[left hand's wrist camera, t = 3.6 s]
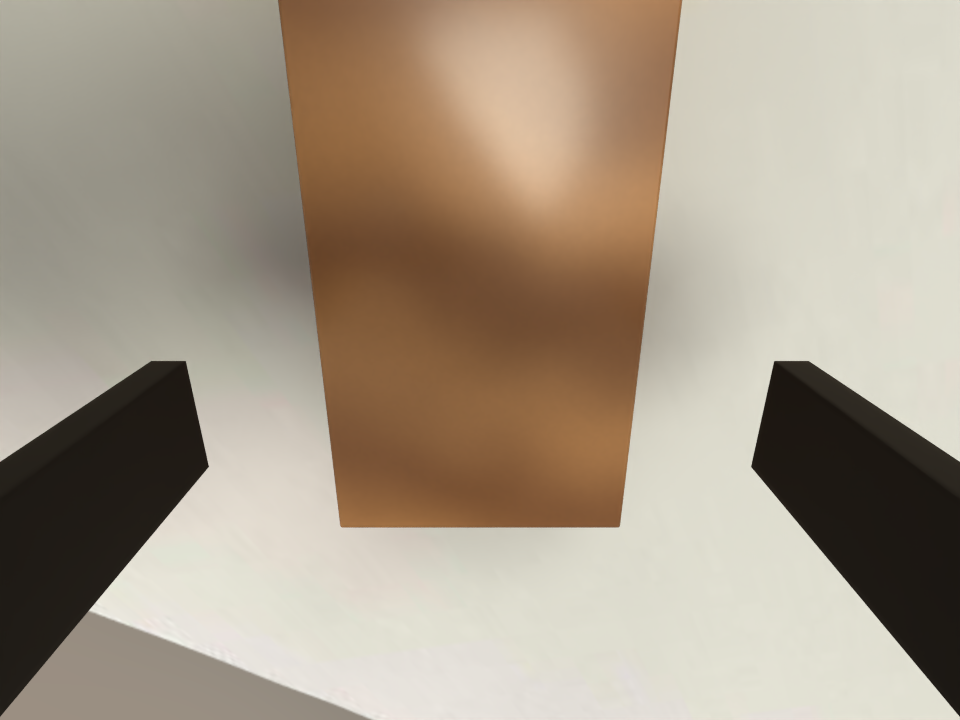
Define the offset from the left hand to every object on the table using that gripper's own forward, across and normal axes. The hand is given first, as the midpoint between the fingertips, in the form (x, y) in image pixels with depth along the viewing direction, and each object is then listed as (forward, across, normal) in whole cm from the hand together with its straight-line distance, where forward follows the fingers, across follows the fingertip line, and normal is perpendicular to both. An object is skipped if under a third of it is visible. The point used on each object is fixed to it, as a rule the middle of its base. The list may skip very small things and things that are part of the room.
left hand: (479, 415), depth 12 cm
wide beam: (+12, 0, -29) cm, 32 cm away
